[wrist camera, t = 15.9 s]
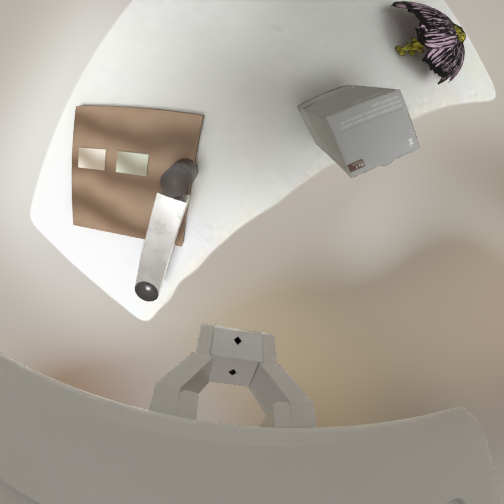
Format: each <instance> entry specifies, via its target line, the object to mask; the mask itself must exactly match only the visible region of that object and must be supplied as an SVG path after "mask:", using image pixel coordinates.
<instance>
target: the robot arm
mask: <svg viewBox="0 0 504 504" xmlns="http://www.w3.org/2000/svg"><path fill="white" fill-rule="evenodd" d="M209 382H216V383H224V384H233V385H239V386H246V387H249V389H250V391H251V392H252V394H253V396H254V397H255V399H256V400H257V402H258V403H259V405H260V407H261V408H262V410H263V412H264V413H265V415H266V417H265V418H264V420H263V421H262V423H261V424H260V426H259V427H255V426H242V425H231V424H222V423H215V422H207V421H201V420H196V418H197V409H198V399H199V395H198V394H199V393H200V392H201V390H202V389H203V388H204V387H205V386H206V385H207V384H208V383H209ZM0 504H499V497H498V487H497V480H496V475H495V470H494V465H493V460H492V457H491V453H490V450H489V446H488V443H487V439H486V436H485V433H484V430H483V428H482V426H481V424H480V422H479V421H478V420H477V419H476V418H475V417H474V416H473V415H472V414H471V413H470V412H468V411H467V410H466V409H464V408H463V407H456V408H452V409H449V410H445V411H441V412H437V413H432V414H428V415H423V416H418V417H413V418H408V419H402V420H396V421H390V422H383V423H375V424H366V425H356V426H344V427H326V428H317V424H316V418H315V412H314V406H313V402H312V401H311V400H310V399H309V398H308V396H307V395H306V394H305V393H304V392H303V391H302V390H301V388H300V387H299V386H298V385H297V384H296V383H295V381H294V380H293V379H292V378H291V377H290V376H289V374H288V373H287V372H286V371H285V370H284V369H283V367H282V366H281V365H279V364H277V362H276V352H275V342H274V335H273V334H271V333H262V332H255V331H248V330H241V329H233V328H228V327H222V326H217V325H211V324H207V323H202V324H201V327H200V333H199V339H198V345H197V351H196V353H195V352H192V353H191V354H190V355H189V356H188V357H186V358H185V359H184V360H183V361H182V362H180V363H179V364H178V365H177V366H176V367H175V368H173V369H172V370H171V371H170V372H169V373H167V374H166V375H165V376H164V377H163V378H161V379H160V380H159V381H158V382H157V383H156V384H155V388H154V392H153V396H152V400H151V404H150V408H149V410H146V409H141V408H138V407H133V406H130V405H126V404H123V403H119V402H116V401H113V400H109V399H106V398H103V397H100V396H97V395H94V394H91V393H88V392H85V391H83V390H80V389H78V388H75V387H72V386H70V385H67V384H65V383H62V382H60V381H57V380H55V379H53V378H50V377H48V376H46V375H44V374H41V373H39V372H37V371H35V370H33V369H31V368H29V367H27V366H25V365H23V364H21V363H19V362H17V361H15V360H13V359H11V358H9V357H8V356H6V355H4V354H2V353H1V352H0Z"/></svg>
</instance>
